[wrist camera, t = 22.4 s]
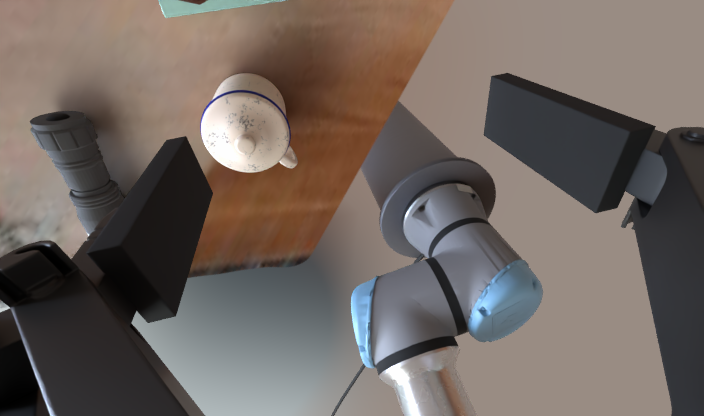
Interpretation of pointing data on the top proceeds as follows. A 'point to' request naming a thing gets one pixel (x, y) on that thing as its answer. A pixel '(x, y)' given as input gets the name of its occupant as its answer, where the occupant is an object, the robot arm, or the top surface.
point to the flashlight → (78, 163)
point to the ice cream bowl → (195, 1)
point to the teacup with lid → (247, 125)
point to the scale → (204, 6)
